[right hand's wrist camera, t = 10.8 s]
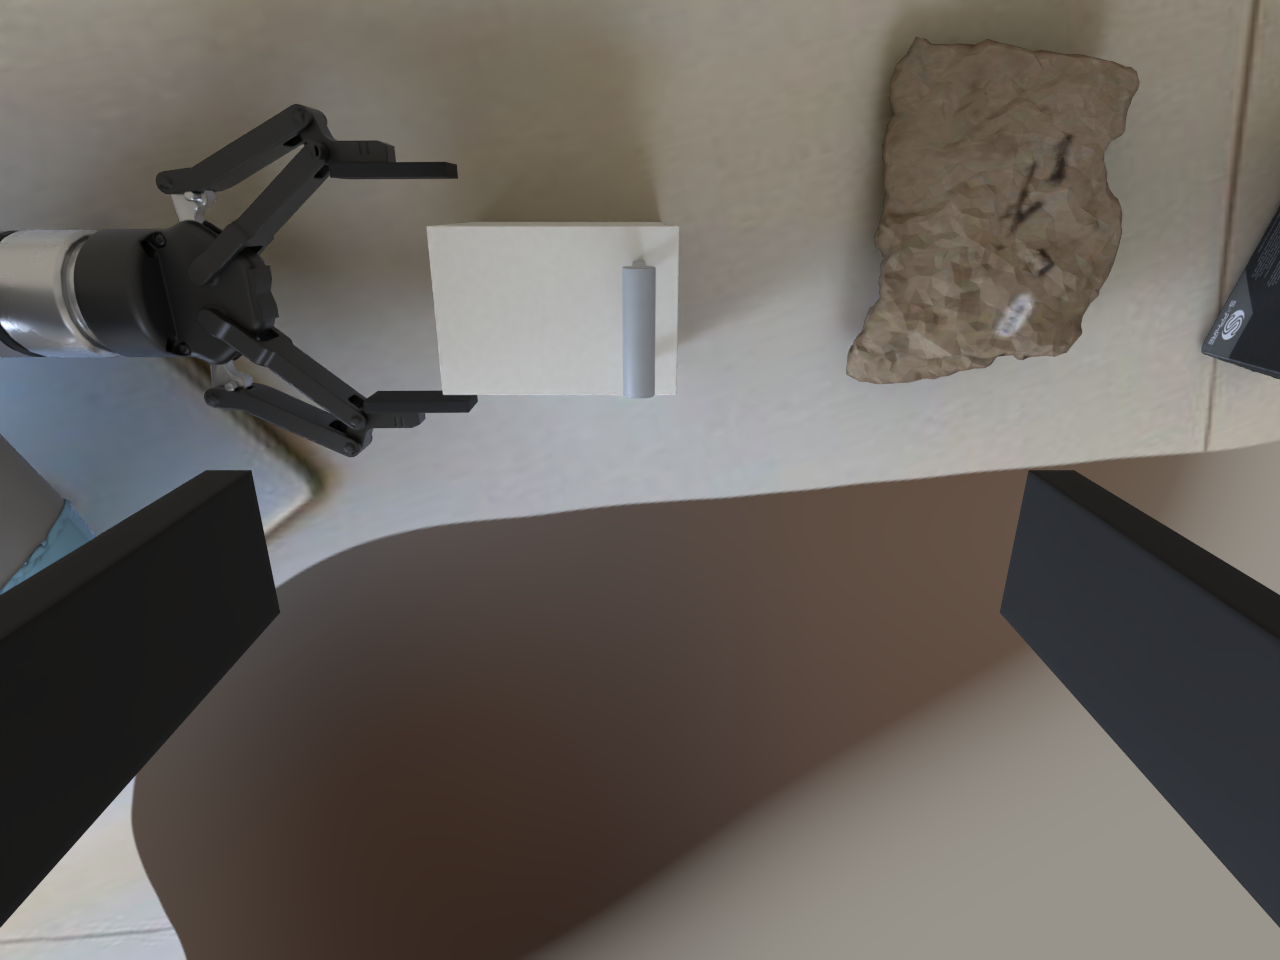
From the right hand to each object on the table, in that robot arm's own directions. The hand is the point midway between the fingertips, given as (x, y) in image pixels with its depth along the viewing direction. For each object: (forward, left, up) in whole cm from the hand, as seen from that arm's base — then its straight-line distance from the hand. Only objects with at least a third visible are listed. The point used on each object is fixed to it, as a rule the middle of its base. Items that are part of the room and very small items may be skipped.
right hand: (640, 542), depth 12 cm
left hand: (+11, 0, -34) cm, 35 cm away
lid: (+5, 0, -30) cm, 30 cm away
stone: (-22, -5, -41) cm, 46 cm away
